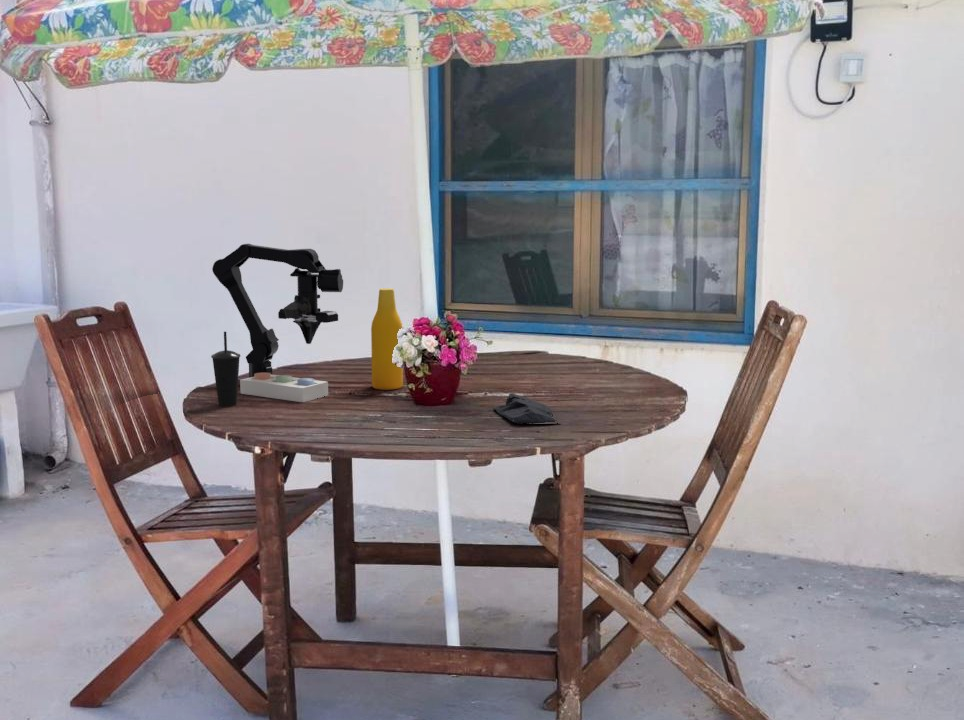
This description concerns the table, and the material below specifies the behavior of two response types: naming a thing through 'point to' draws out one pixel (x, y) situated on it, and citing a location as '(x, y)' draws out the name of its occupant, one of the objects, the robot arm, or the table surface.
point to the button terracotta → (262, 376)
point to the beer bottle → (385, 343)
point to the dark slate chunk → (524, 410)
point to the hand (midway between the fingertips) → (308, 343)
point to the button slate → (305, 381)
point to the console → (283, 389)
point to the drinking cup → (226, 375)
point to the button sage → (284, 378)
